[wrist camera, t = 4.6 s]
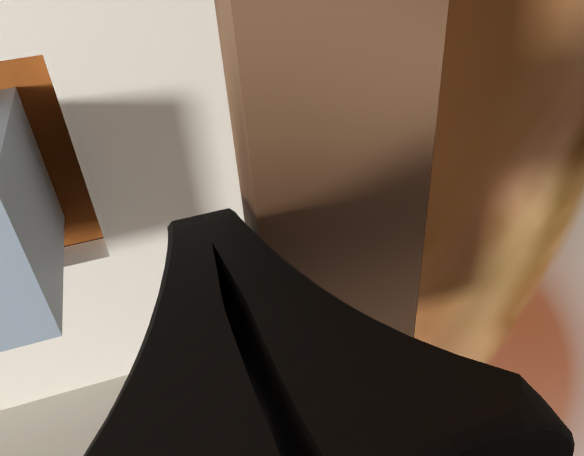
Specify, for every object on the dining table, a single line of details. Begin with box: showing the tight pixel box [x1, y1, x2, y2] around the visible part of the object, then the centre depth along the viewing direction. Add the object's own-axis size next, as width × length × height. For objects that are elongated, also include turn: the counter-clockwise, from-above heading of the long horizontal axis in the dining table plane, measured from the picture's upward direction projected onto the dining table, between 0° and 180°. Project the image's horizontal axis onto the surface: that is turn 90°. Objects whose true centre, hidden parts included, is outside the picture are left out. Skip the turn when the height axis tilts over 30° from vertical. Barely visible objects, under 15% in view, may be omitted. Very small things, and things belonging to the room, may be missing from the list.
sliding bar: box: [214, 0, 449, 338], centre depth 12 cm, size 18×4×1 cm, turn 4°
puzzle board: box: [0, 0, 245, 456], centre depth 13 cm, size 18×18×5 cm
